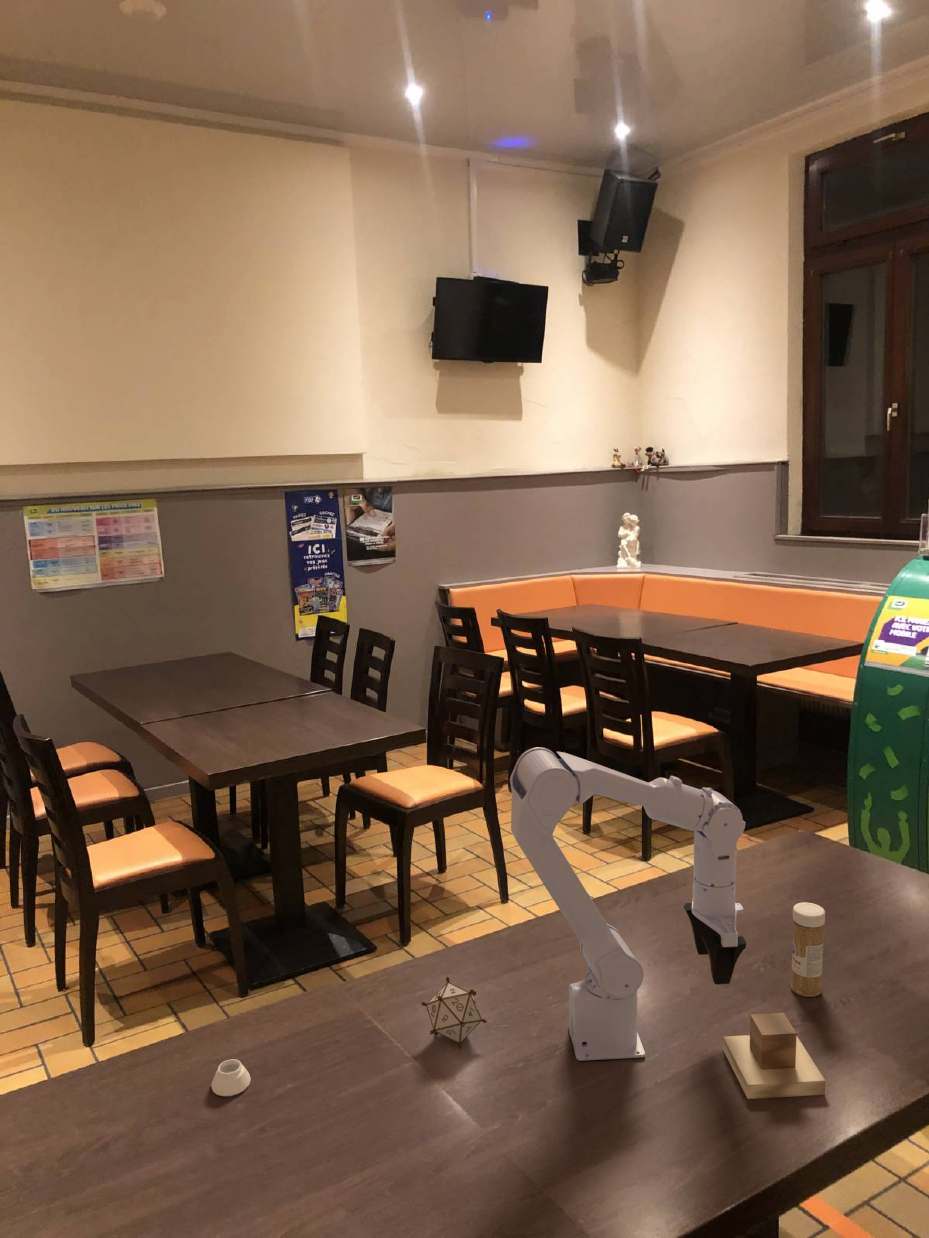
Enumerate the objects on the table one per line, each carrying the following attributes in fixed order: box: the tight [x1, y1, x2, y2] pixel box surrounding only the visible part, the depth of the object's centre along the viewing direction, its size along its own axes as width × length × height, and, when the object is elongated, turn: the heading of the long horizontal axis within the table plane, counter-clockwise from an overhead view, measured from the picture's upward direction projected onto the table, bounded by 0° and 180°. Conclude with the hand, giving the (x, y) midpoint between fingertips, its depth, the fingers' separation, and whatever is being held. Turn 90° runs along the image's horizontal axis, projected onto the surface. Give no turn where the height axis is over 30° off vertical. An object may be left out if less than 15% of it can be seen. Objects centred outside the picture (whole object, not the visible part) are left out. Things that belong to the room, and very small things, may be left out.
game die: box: [420, 975, 488, 1051], centre depth 132 cm, size 9×8×10 cm
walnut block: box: [749, 1012, 798, 1070], centre depth 123 cm, size 4×4×5 cm
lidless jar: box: [211, 1058, 252, 1097], centre depth 124 cm, size 5×3×5 cm
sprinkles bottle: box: [790, 901, 826, 998], centre depth 140 cm, size 5×5×13 cm
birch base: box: [722, 1034, 826, 1100], centre depth 123 cm, size 10×10×2 cm
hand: (713, 967), depth 132 cm, fingers open, 7 cm apart
